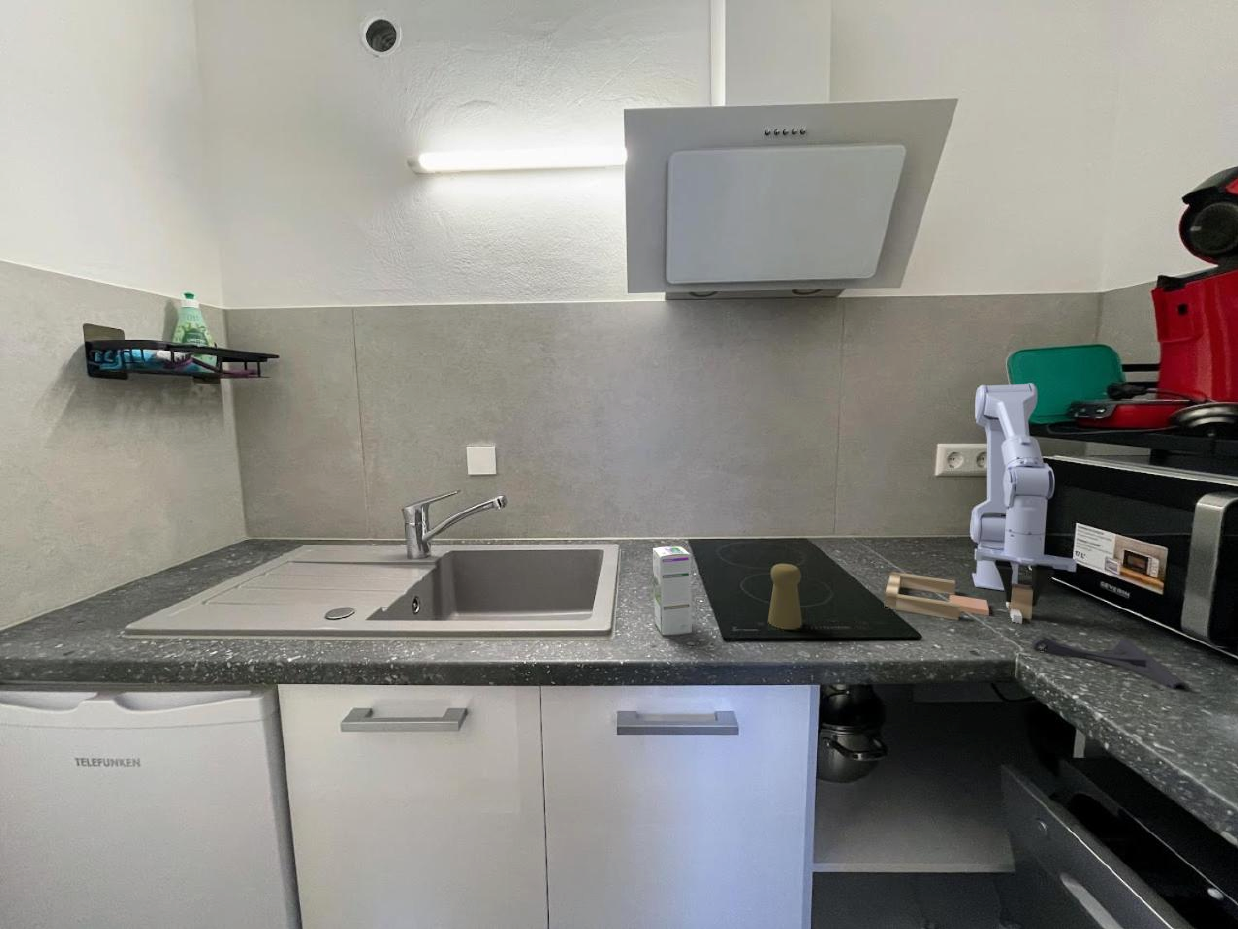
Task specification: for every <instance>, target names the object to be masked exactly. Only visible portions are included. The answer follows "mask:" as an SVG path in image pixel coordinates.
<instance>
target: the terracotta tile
mask: <svg viewBox="0 0 1238 929" xmlns="http://www.w3.org/2000/svg"><path fill="white" fill-rule="evenodd" d="M949 602H952V603H958V605H959V612H965V613H971V614H976V615H977V614H978V615H981V616H988V615H990V614H989V613H990V610H989V605H988V602H987V600H986V599H981V598H975V597H974V598H973V597H967V596H959V595H956V594H955V595H952V594H949Z"/></svg>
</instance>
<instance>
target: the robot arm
mask: <svg viewBox="0 0 1238 929" xmlns="http://www.w3.org/2000/svg"><path fill="white" fill-rule="evenodd" d="M974 403H975V404H974V405H975V407H974V411H975V414H974V416H975V417H974V418H975V420H976V424H977V425H979V426H981V427H983V428H984V431H985V434H986V500H985V501H982V502H981V503H980V504H977V505H976V506H975V507H973V509H972V510H971V517H970V518H971V519H970V522H969V523H970V525H969V533H970V539H971V540H972V541H973V542H974V543H976V544H978V545H977V548H974V561H976V573H971V575H972V580H973V584H974V587H976V588H982V589H983V588H985V589H991V590H999V591H1004V600H1005V603H1006V602H1010V603H1011V598H1012V593H1011V584H1012V583H1014V584H1019V583H1018V575H1019V574H1018V573H1019V565H1020V566H1029V567H1030V566H1031V585H1030V586H1031V588H1032V589H1033V599H1032V607H1037V606H1038V605H1037V604H1038V600H1039V598H1040V596H1041V594H1042V592H1043V590H1044V589H1045V587H1046V585H1047V584H1048V583H1049V581H1050V580H1052V579H1053V576H1054V575H1055V572H1054V570H1053V569H1056V570H1065V571H1067V572H1072V573H1077V560H1076V559H1075V558H1070V557H1062V556H1057V555H1056V556H1055V555H1049V554H1045V542H1046V541H1045V540H1046V539H1045V538H1046V526H1047V523H1046V522H1047V511H1048V500H1050V499H1051V498H1052V497H1053V494H1054V491H1055V475H1054V471H1053V469H1052V467H1050V466H1049V463H1047V462H1046V463H1045V462H1044V458H1043V455H1042V451H1041V447H1040V444H1039V440H1038V439H1036V438H1035V437H1033V436H1030V428H1029V427H1030V426H1029V420H1030V418H1031V415H1032V414H1033V413H1034V410H1035V409H1036V406H1037V403H1038V389H1037V386H1036V385H1035V384H1034V383H1032V382H1030V383H1029V382H1028V383H1024V384H1023V383H1021V384H1020V383H1019V384H1016V383H1015V384H995V385H994V384H993V385H991V384H990V385H985V384H981V385H980V386H978V388H977V389H976V393H975V402H974ZM1004 515H1005V516H1004Z"/></svg>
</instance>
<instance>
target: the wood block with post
mask: <svg viewBox="0 0 1238 929" xmlns="http://www.w3.org/2000/svg"><path fill="white" fill-rule="evenodd" d="M1011 593H1012V598H1011V603H1010V602H1006V601H1005V606H1006V608H1008V609H1007V610H1008V614H1009V613H1010V614H1009V615H1010V618H1012V619H1011V622H1012V623H1013V622H1015V623H1014V624H1017V623H1019V625H1022V623H1023V619H1025V618H1026V620H1032V613H1033V612H1032V611H1033V606H1032V599H1033V589H1032V588H1031V585H1029V584H1021V583H1018V584H1014V583H1012V584H1011Z"/></svg>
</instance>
